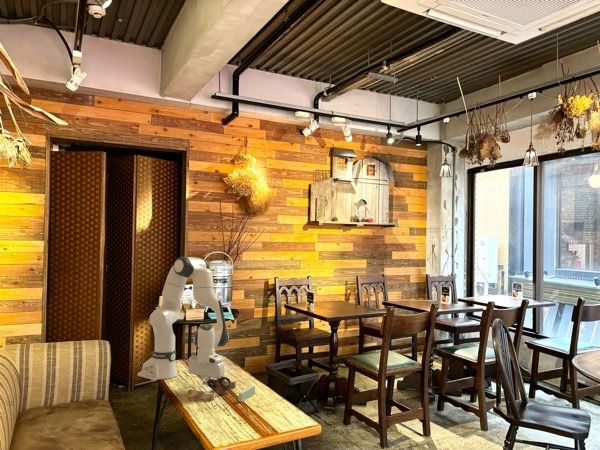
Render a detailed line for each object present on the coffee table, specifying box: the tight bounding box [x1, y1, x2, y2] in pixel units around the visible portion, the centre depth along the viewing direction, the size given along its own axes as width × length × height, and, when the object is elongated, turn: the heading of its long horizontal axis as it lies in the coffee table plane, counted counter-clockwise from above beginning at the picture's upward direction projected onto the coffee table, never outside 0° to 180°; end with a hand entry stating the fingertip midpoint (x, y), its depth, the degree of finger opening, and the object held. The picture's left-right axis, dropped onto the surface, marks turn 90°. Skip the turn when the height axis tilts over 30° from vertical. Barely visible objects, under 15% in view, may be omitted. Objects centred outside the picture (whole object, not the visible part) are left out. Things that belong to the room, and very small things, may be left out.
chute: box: [187, 377, 237, 402], centre depth 230 cm, size 14×22×3 cm, turn 156°
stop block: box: [238, 385, 256, 403], centre depth 222 cm, size 2×12×4 cm, turn 156°
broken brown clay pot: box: [207, 376, 232, 395], centre depth 231 cm, size 12×10×8 cm
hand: (205, 384), depth 232 cm, fingers closed
